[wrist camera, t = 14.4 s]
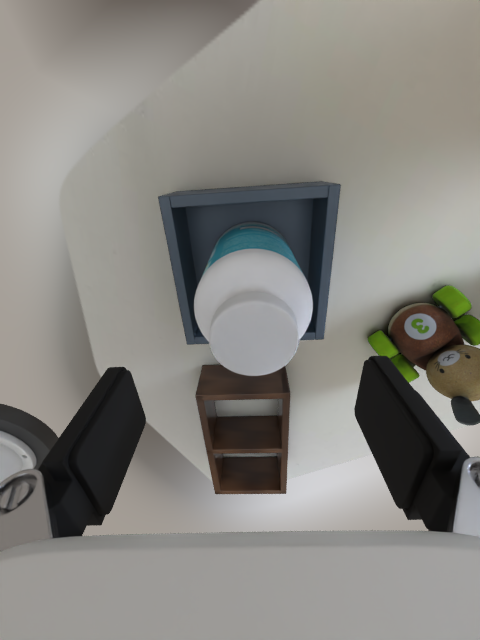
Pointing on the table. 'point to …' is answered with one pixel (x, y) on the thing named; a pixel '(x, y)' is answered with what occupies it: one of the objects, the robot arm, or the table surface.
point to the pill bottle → (253, 300)
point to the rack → (245, 431)
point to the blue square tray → (252, 206)
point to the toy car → (438, 348)
